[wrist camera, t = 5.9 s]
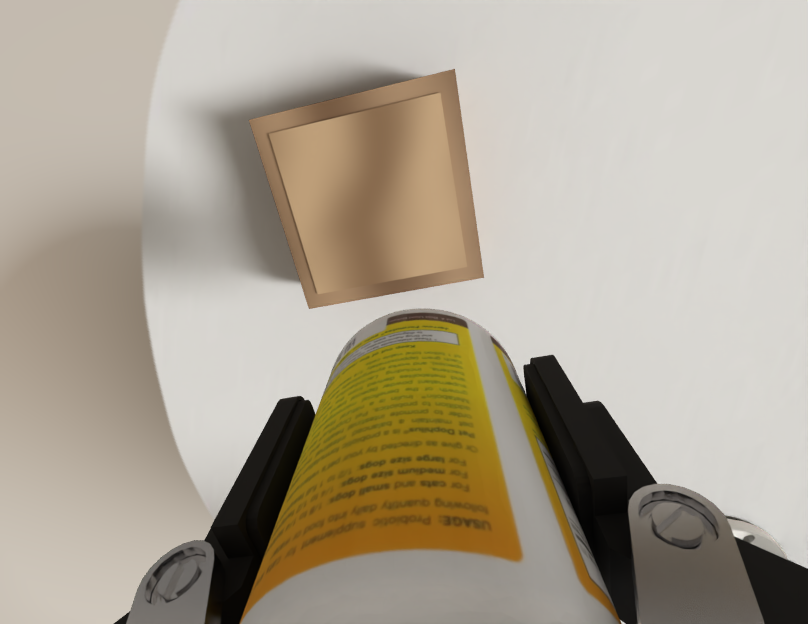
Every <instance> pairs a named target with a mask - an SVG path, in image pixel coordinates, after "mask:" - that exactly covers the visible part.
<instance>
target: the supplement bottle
mask: <svg viewBox="0 0 808 624" xmlns="http://www.w3.org/2000/svg"><path fill="white" fill-rule="evenodd" d="M239 624H621V621H620V619H619V617H618V615H617V613H616V610H615V608H614V605H613V602H612V600H611V597H610V595H609V593H608V590H607V588H606V586H605V583H604V581H603V579H602V576H601V573H600V571H599V569H598V566H597V564H596V562H595V559H594V557H593V554H592V552H591V550H590V547H589V545H588V542H587V540H586V537H585V535H584V533H583V530H582V528H581V525H580V523H579V521H578V518H577V516H576V513H575V511H574V509H573V506H572V504H571V502H570V499H569V497H568V494H567V492H566V489H565V487H564V484H563V482H562V480H561V478H560V475H559V472H558V470H557V468H556V465H555V463H554V461H553V458H552V456H551V453H550V451H549V449H548V446H547V444H546V441H545V439H544V436H543V434H542V432H541V430H540V427H539V425H538V422H537V420H536V417H535V415H534V413H533V410H532V408H531V406H530V403H529V401H528V398H527V396H526V394H525V391H524V388H523V386H522V384H521V382H520V380H519V377H518V375H517V373H516V370H515V368H514V366H513V364H512V362H511V360H510V358H509V356H508V354H507V353H506V351H505V349H504V348H503V347H502V345H501V344H500V343H499V342H498V341H497V339H496V338H495V337H494V336H493V335H492V334H490V333H489V332H488V331H487V330H486V329H484V328H483V327H482V326H480V325H479V324H477V323H475V322H474V321H472V320H470V319H468V318H465V317H463V316H461V315H458V314H454V313H451V312H448V311H443V310H435V309H410V310H403V311H398V312H394V313H391V314H388V315H386V316H383V317H381V318H379V319H376V320H375V321H373V322H371V323H370V324H368V325H366V326H365V327H364V328H362V329H361V330H360V331H358V332H357V333H356V334H355V335H354V336H353V337H352V338H351V339H350V340H349V341H348V343H347V344H346V345H345V347H344V348H343V349H342V351H341V352H340V354H339V356H338V358H337V360H336V362H335V364H334V367H333V369H332V372H331V375H330V377H329V380H328V383H327V385H326V388H325V391H324V394H323V396H322V399H321V402H320V404H319V407H318V410H317V412H316V415H315V418H314V421H313V423H312V426H311V429H310V432H309V435H308V437H307V440H306V443H305V445H304V448H303V451H302V454H301V457H300V459H299V462H298V465H297V467H296V470H295V472H294V475H293V478H292V481H291V484H290V486H289V489H288V492H287V495H286V497H285V500H284V503H283V505H282V508H281V511H280V513H279V516H278V519H277V522H276V525H275V527H274V530H273V533H272V536H271V539H270V541H269V544H268V547H267V550H266V552H265V555H264V558H263V560H262V563H261V566H260V569H259V571H258V574H257V577H256V580H255V582H254V585H253V588H252V590H251V593H250V596H249V599H248V601H247V604H246V607H245V610H244V612H243V615H242V618H241V621H240V623H239Z"/></svg>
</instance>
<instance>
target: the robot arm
mask: <svg viewBox="0 0 808 624" xmlns="http://www.w3.org/2000/svg"><path fill="white" fill-rule="evenodd" d="M524 378H525V386H526V395H527V398H528V401H529V403H530V406H531V408H532V410H533V413H534V415H535V417H536V420H537V422H538V425H539V427H540V430H541V432H542V434H543V436H544V439H545V441H546V444H547V446H548V449H549V451H550V453H551V456H552V458H553V461H554V463H555V465H556V468H557V470H558V472H559V475H560V478H561V480H562V482H563V484H564V487H565V489H566V492H567V494H568V497H569V499H570V502H571V504H572V506H573V509H574V511H575V513H576V516H577V518H578V521H579V523H580V525H581V528H582V530H583V533H584V535H585V537H586V540H587V542H588V545H589V547H590V550H591V552H592V554H593V557H594V559H595V562H596V564H597V566H598V569H599V571H600V573H601V576H602V579H603V581H604V583H605V586H606V588H607V590H608V593H609V595H610V597H611V600H612V602H613V605H614V608H615V610H616V613H617V615H618V617H619V619H620V620H621V621H623V622H624V623H626V624H808V569H807V568H805V567H802V566H800V565H798V564H796V563H793V562H791V561H789V560H788V559H787V556H786V554H785V552H784V551H783V549H782V548H781V547H780V546H779V544H778V543H777V542H776V541H775V540H774V539H773V538H772V537H771V536H770V535H769V534H768V533H767V532H766V531H764V530H762V529H761V528H759V527H757V526H755V525H752V524H749V523H746V522H744V521H738V520H732V519H726V517H725V515H724V514H723V513H722V512H721V511H720V510H719V509H718V508H717V507H716V506H715V505H714V504H713V503H712V502H711V501H709V500H708V499H706V498H705V497H703V496H702V495H700V494H698V493H696V492H694V491H691V490H689V489H687V488H684V487H680V486H675V485H671V484H657V482H656V481H655V480H654V478H653V477H652V475H651V474H650V472H649V471H648V469H647V468H646V466H645V465H644V463H643V462H642V461H641V459H640V458H639V456H638V455H637V453H636V452H635V450H634V449H633V447H632V446H631V444H630V443H629V442H628V440H627V439H626V437H625V436H624V434H623V433H622V431H621V430H620V428H619V427H618V425H617V424H616V423H615V421H614V420H613V418H612V417H611V415H610V414H609V412H608V411H607V409H606V408H605V406H604V405H603V404H602V403H601V402H599V401H593V402H586V403H583V402H582V400H581V399H580V397H579V396H578V394H577V392H576V391H575V389H574V387H573V386H572V384H571V382H570V381H569V379H568V378H567V376H566V374H565V373H564V371H563V369H562V368H561V366H560V365H559V363H558V361H557V360H556V358H555V357H554V355H548V356H542V357H536V358H531V359H530V364H528V365H524ZM314 418H315V412H314V409H313V407H312V404H311V402H310V401H309V400H304V398H303V397H301V396H297V397H291V398H284V399H280V400H279V401H278V403H277V405H276V407H275V409H274V410H273V412H272V414H271V416H270V418H269V420H268V422H267V424H266V425H265V427H264V429H263V431H262V433H261V435H260V437H259V438H258V440H257V442H256V444H255V446H254V448H253V450H252V451H251V453H250V455H249V457H248V459H247V461H246V463H245V464H244V466H243V468H242V470H241V472H240V474H239V476H238V478H237V479H236V481H235V483H234V485H233V487H232V489H231V491H230V492H229V494H228V496H227V498H226V500H225V502H224V504H223V505H222V507H221V509H220V511H219V513H218V515H217V517H216V519H215V520H214V522H213V524H212V526H211V529H210V531H209V533H208V535H207V537H206V538H205V540H204V541H203V540H202V541H201V540H200V541H198V540H196V541H195V540H194V541H191V542H187V543H184V544H182V545H180V546H178V547H176V548H174V549H172V550H171V551H169V552H168V553H167V554H165V555H164V556H162V557H161V558H160V559H159V560H158V561H157V562H156V563H155V564H154V565H153V566H152V567H151V568H150V569H149V571H148V572H147V573H146V575H145V576H144V578H143V579H142V581H141V583H140V585H139V587H138V589H137V592H136V596H135V598H134V601H133V605H132V608H131V611H130V612H129V613H127V614H126V615H125V616H123V617H122V618H121V619H119V620H118V621H117V622H115V623H114V624H239V623H240V621H241V618H242V615H243V612H244V610H245V607H246V604H247V601H248V599H249V596H250V593H251V590H252V588H253V585H254V582H255V580H256V577H257V574H258V571H259V569H260V566H261V563H262V560H263V558H264V555H265V552H266V550H267V547H268V544H269V541H270V539H271V536H272V533H273V530H274V527H275V525H276V522H277V519H278V516H279V513H280V511H281V508H282V505H283V503H284V500H285V497H286V495H287V492H288V489H289V486H290V484H291V481H292V478H293V475H294V472H295V470H296V467H297V465H298V462H299V459H300V457H301V454H302V451H303V448H304V445H305V443H306V440H307V437H308V435H309V432H310V429H311V426H312V423H313V421H314Z"/></svg>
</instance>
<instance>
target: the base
mask: <svg viewBox="0 0 808 624" xmlns="http://www.w3.org/2000/svg"><path fill="white" fill-rule="evenodd" d="M249 122H250V125H251V128H252V131H253V135H254V138H255V141H256V144H257V147H258V150H259V153H260V157H261V160H262V163H263V166H264V169H265V172H266V175H267V178H268V182H269V185H270V188H271V191H272V194H273V197H274V200H275V204H276V207H277V210H278V213H279V216H280V219H281V222H282V226H283V229H284V232H285V235H286V238H287V241H288V244H289V248H290V251H291V254H292V257H293V260H294V263H295V266H296V270H297V273H298V276H299V279H300V282H301V285H302V288H303V292H304V295H305V298H306V301H307V304H308V307H309V309H311V308H317V307H322V306H328V305H333V304H339V303H345V302H350V301H356V300H361V299H367V298H372V297H378V296H384V295H389V294H395V293H400V292H406V291H411V290H417V289H423V288H428V287H434V286H439V285H445V284H450V283H456V282H462V281H467V280H473V279H478V278H484V274H483V267H482V260H481V253H480V246H479V239H478V231H477V224H476V217H475V210H474V203H473V196H472V189H471V181H470V174H469V167H468V160H467V153H466V146H465V139H464V131H463V124H462V117H461V110H460V103H459V96H458V89H457V81H456V74H455V69H453V70H449V71H445V72H441V73H437V74H433V75H428V76H424V77H420V78H416V79H412V80H408V81H404V82H400V83H396V84H392V85H388V86H384V87H380V88H376V89H372V90H368V91H364V92H360V93H356V94H352V95H348V96H344V97H339V98H335V99H331V100H327V101H323V102H319V103H315V104H311V105H307V106H303V107H299V108H295V109H291V110H287V111H283V112H279V113H275V114H271V115H267V116H263V117H259V118H255V119H250V120H249Z"/></svg>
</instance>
